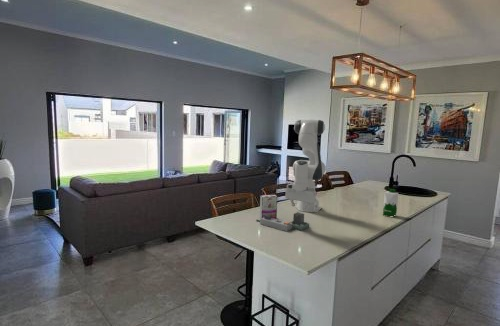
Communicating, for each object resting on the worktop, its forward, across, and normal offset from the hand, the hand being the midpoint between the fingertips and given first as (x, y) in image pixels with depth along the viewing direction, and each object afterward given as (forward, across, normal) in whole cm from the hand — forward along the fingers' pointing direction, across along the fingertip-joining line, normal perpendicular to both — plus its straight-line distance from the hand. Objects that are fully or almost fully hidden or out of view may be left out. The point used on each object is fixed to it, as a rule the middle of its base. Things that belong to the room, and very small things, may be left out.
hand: (299, 207), depth 187 cm
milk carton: (+15, -39, -72) cm, 83 cm away
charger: (+12, 0, +1) cm, 12 cm away
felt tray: (+13, 0, +1) cm, 13 cm away
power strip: (+12, +14, +10) cm, 21 cm away
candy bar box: (+13, +24, 0) cm, 28 cm away
